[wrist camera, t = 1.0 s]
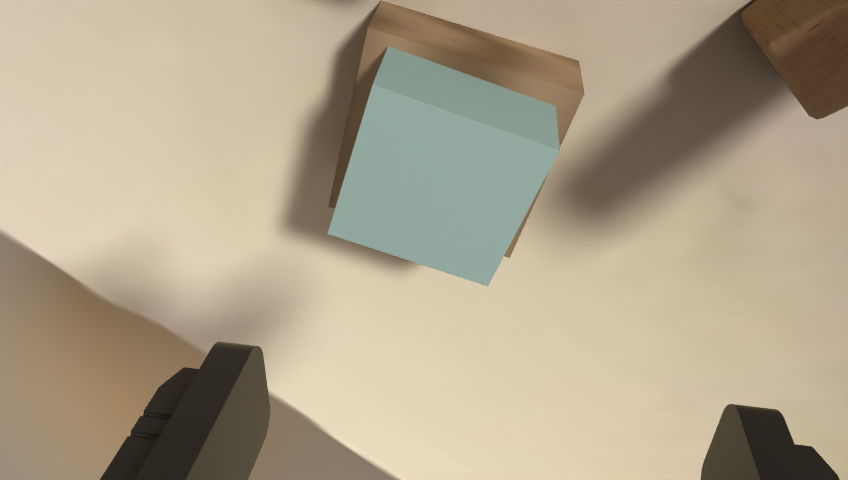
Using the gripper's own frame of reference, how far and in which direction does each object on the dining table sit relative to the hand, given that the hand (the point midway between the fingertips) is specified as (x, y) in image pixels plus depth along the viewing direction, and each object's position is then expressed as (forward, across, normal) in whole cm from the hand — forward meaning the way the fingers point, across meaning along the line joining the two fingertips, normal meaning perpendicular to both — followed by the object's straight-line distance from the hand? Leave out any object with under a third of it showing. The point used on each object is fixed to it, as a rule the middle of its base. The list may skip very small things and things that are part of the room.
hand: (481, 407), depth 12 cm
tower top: (+21, +3, +5) cm, 22 cm away
